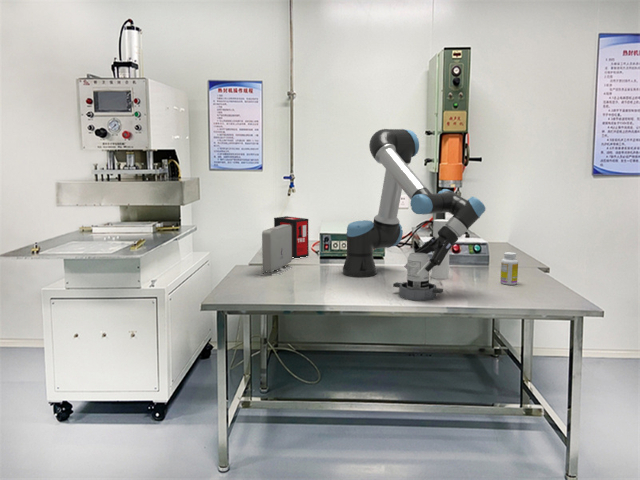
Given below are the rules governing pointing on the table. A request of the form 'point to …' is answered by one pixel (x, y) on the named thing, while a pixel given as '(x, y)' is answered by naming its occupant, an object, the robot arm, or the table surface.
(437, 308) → the table surface
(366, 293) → the table surface
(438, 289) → the cooker pot
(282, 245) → the network device
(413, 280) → the supplement can
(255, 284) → the table surface
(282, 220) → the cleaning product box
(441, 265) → the cylindrical container
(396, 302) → the table surface
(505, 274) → the supplement bottle
